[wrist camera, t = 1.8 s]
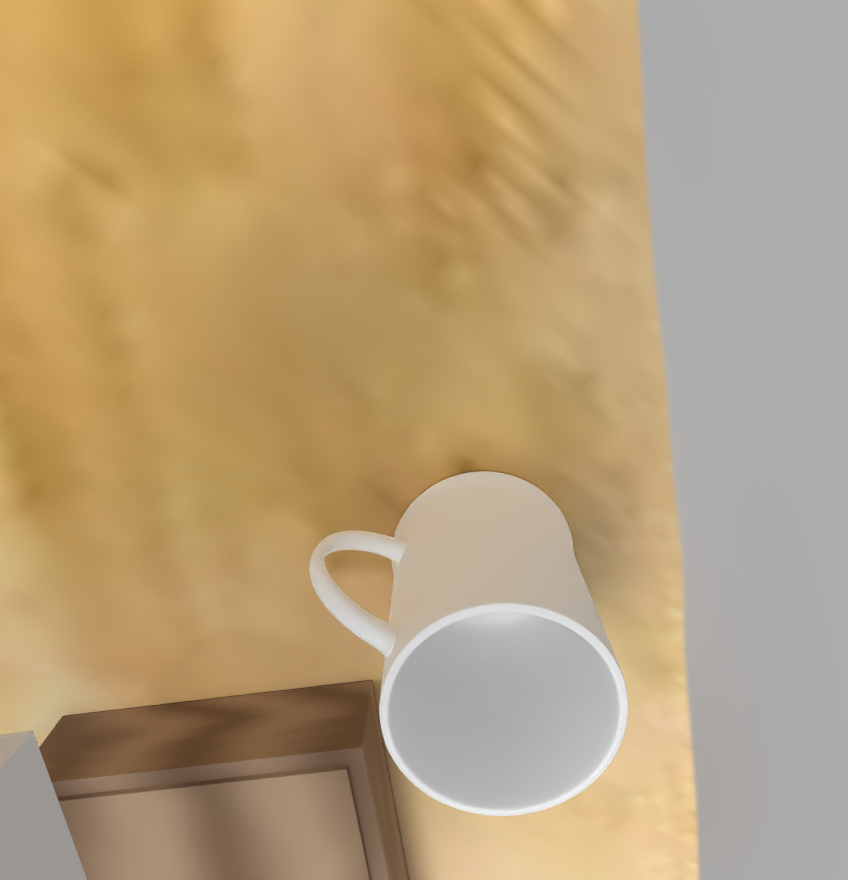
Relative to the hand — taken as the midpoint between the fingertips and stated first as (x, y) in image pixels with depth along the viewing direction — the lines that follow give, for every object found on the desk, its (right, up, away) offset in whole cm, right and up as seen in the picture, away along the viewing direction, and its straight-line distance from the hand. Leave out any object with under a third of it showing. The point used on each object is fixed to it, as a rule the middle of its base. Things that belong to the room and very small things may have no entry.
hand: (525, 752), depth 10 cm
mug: (0, -1, +26) cm, 26 cm away
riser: (-11, -17, +31) cm, 36 cm away
